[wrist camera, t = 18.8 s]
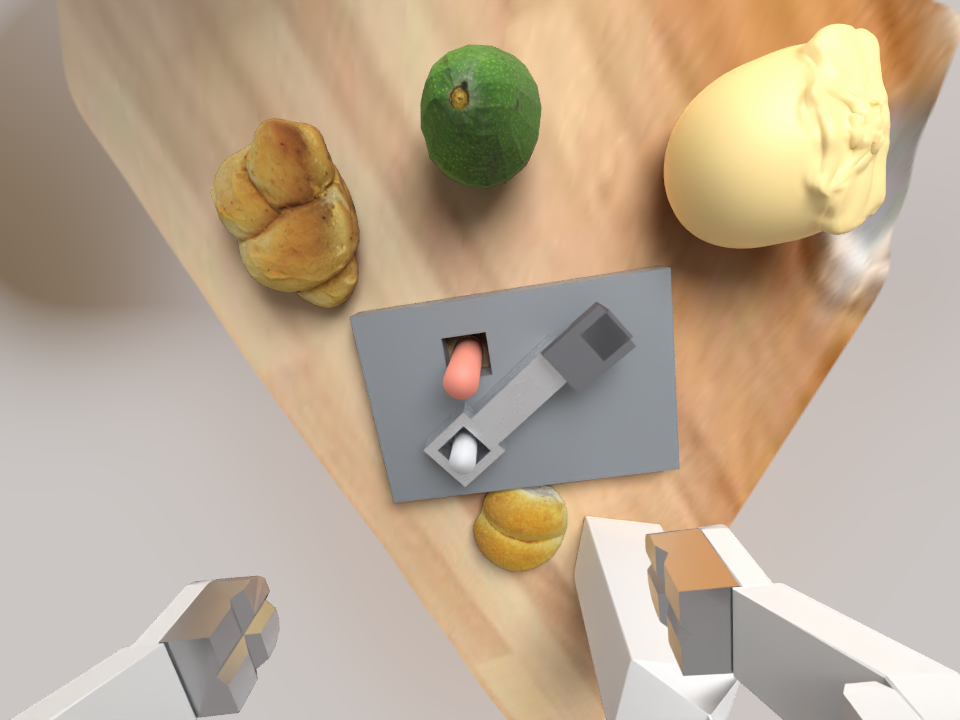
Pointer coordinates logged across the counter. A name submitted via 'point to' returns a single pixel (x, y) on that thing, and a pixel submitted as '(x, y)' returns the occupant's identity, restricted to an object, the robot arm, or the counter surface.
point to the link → (498, 412)
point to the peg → (464, 368)
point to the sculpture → (784, 145)
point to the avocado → (480, 115)
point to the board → (511, 337)
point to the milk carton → (636, 632)
